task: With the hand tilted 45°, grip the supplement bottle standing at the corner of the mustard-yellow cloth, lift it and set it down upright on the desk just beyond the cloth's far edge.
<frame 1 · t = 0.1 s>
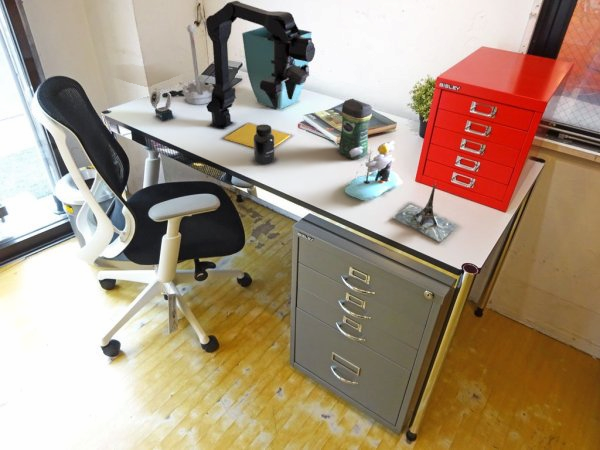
hand: (283, 103, 149), 15 cm above the table, tool pointing down, fingers open, 9 cm apart
flower pot: (278, 102, 189), on the table
watch: (164, 118, 174), on the table
cloth: (257, 137, 161), on the table
eiffel tower figurine: (424, 223, 121), on the table
coffee jar: (352, 153, 153), on the table
cartoon character figurine: (373, 188, 135), on the table
supplement bottle: (264, 160, 148), on the table
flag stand: (199, 99, 189), on the table
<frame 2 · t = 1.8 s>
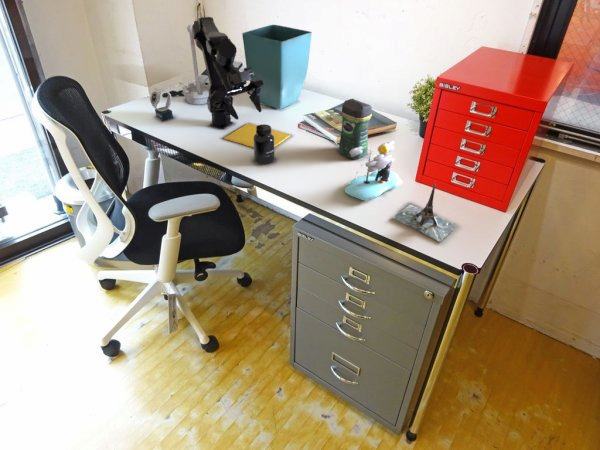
hand: (249, 115, 144), 13 cm above the table, tool tilted 45°, fingers open, 9 cm apart
nothing on the table moved.
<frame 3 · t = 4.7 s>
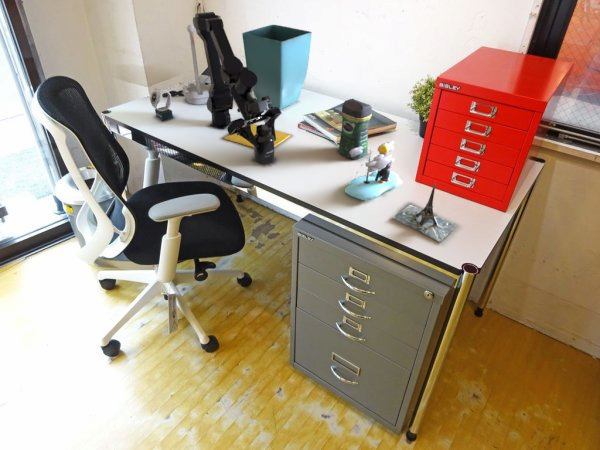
hand: (266, 144, 143), 7 cm above the table, tool tilted 45°, fingers closed on supplement bottle, 7 cm apart
supplement bottle: (264, 161, 148), on the table, touching gripper
everything else where it was.
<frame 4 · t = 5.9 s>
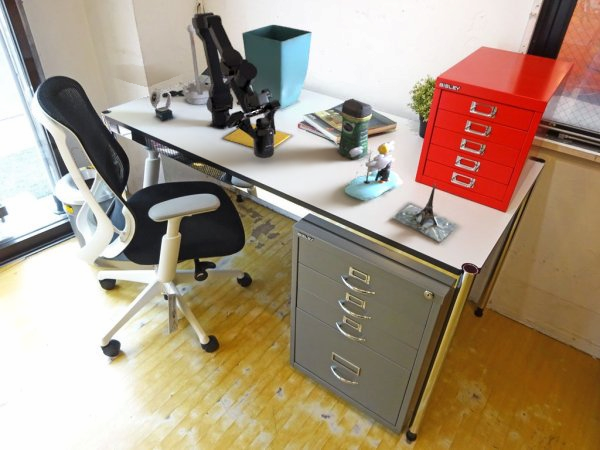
hand: (266, 137, 141), 9 cm above the table, tool tilted 45°, fingers closed on supplement bottle, 7 cm apart
supplement bottle: (264, 154, 146), point 2 cm above the table, touching gripper
everything else where it was.
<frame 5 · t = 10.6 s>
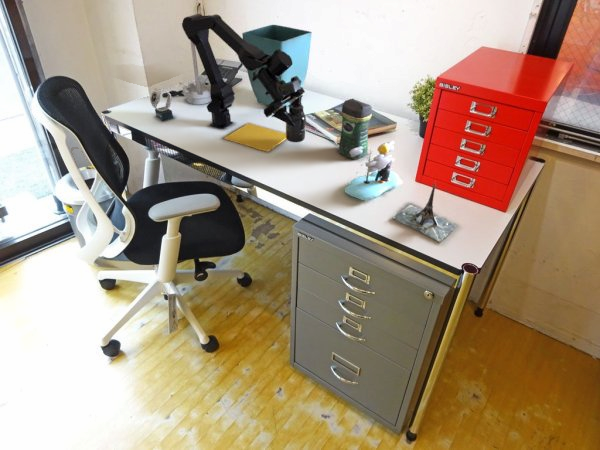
hand: (299, 122, 151), 9 cm above the table, tool tilted 45°, fingers closed on supplement bottle, 7 cm apart
supplement bottle: (295, 139, 156), point 2 cm above the table, touching gripper
everything else where it was.
when the fingers open (7 cm above the table, at t = 11.9 s): supplement bottle stays where it is, on the table.
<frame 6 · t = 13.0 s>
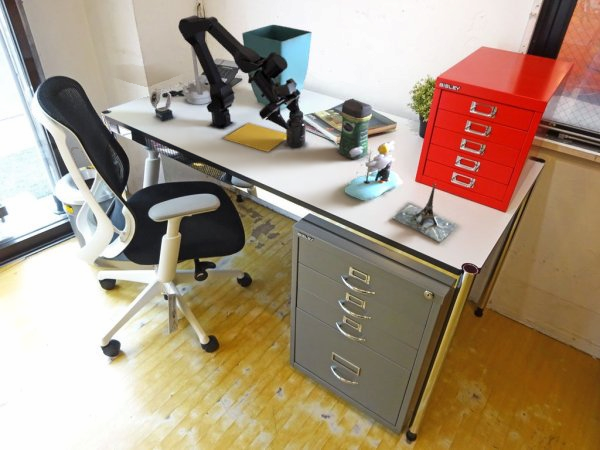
hand: (294, 123, 152), 8 cm above the table, tool tilted 45°, fingers open, 9 cm apart
supplement bottle: (295, 145, 157), on the table
everything else where it was.
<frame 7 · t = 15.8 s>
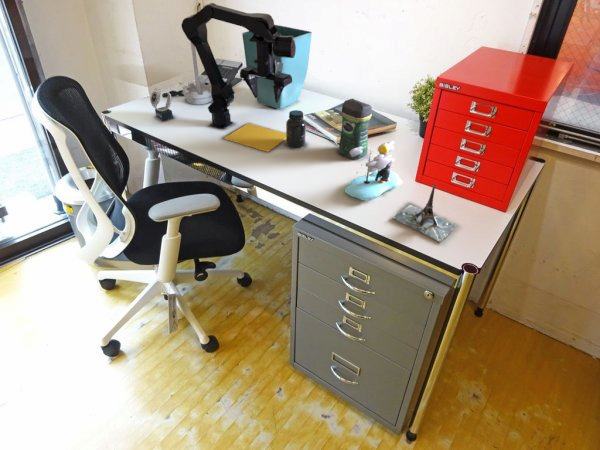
hand: (266, 100, 158), 12 cm above the table, tool pointing down, fingers open, 9 cm apart
nothing on the table moved.
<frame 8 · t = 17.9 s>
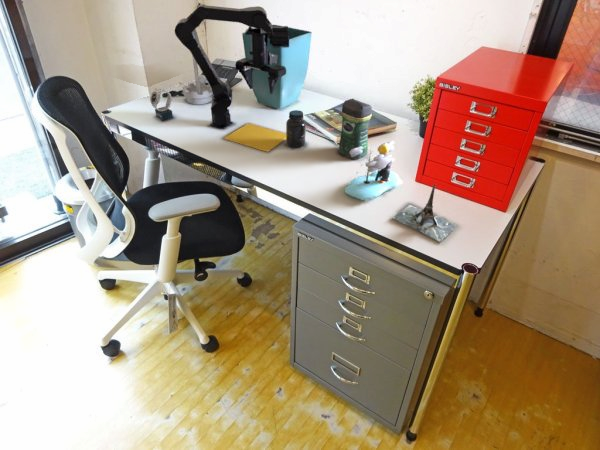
hand: (261, 91, 163), 13 cm above the table, tool pointing down, fingers open, 9 cm apart
nothing on the table moved.
at the end: supplement bottle inside the target area on the table beside the cloth (1.3 cm from its centre), on the table; supplement bottle tilted 0°; the gripper is holding nothing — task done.
